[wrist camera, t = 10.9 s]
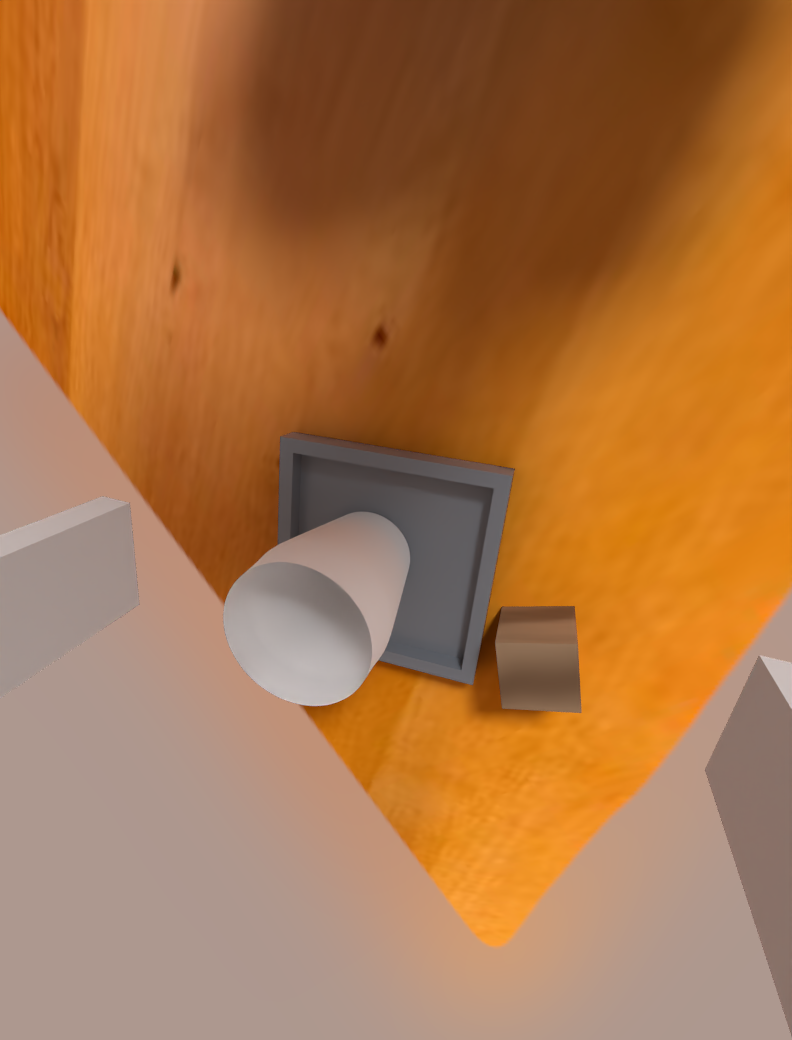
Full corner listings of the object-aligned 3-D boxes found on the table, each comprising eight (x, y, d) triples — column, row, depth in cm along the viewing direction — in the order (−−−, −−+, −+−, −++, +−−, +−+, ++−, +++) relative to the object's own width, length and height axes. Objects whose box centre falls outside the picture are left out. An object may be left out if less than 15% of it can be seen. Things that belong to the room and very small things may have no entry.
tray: (293, 431, 38) (280, 436, 36) (514, 468, 34) (512, 476, 32) (287, 620, 43) (275, 633, 41) (476, 669, 40) (472, 685, 38)
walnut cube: (501, 606, 38) (495, 642, 33) (574, 605, 36) (577, 643, 31) (507, 665, 39) (502, 708, 34) (577, 667, 37) (581, 712, 33)
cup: (343, 620, 41) (267, 721, 30) (292, 518, 39) (192, 586, 28) (446, 589, 38) (403, 691, 27) (395, 476, 36) (328, 535, 25)
